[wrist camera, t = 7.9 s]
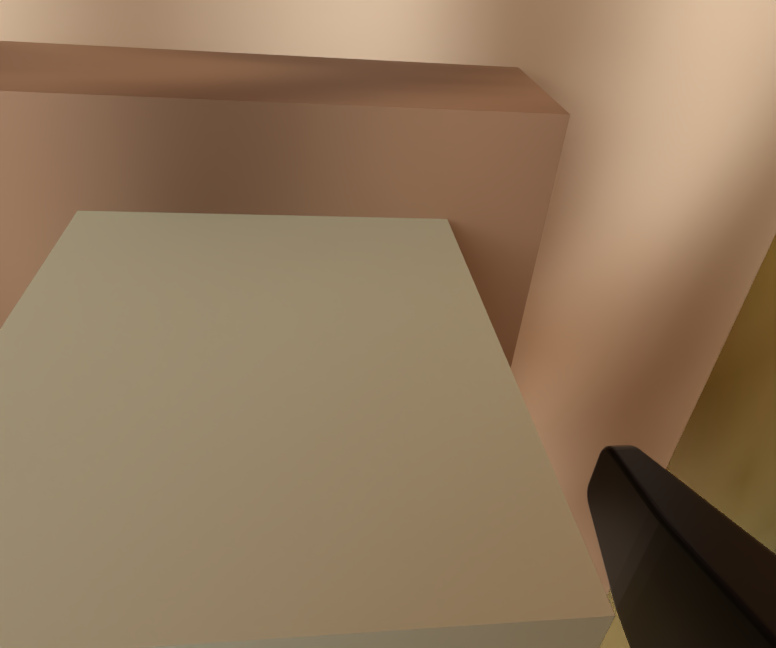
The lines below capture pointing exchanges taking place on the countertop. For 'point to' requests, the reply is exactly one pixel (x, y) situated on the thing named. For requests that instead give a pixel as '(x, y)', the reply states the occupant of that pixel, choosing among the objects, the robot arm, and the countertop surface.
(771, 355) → the countertop surface
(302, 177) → the base block
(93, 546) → the top block
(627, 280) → the board
